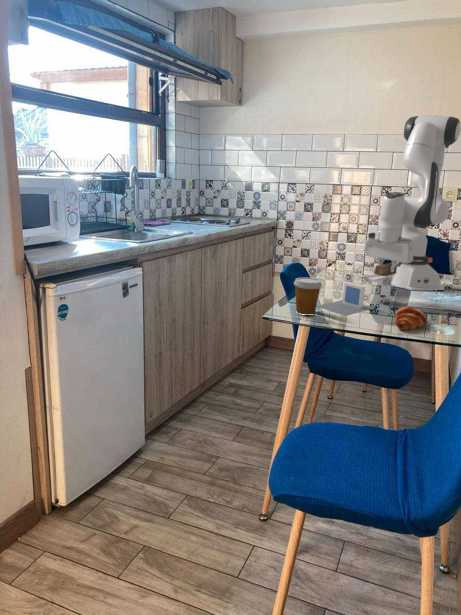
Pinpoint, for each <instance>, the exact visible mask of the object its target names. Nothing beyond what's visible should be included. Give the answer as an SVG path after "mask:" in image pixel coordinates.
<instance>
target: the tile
mask: <svg viewBox="0 0 461 615" xmlns="http://www.w3.org/2000/svg"><path fill="white" fill-rule="evenodd" d="M365 290H366V286H365V285H362V284H356V283H353V282H348V281H345V282H344V286H343V294H342V300H343V302H342V303H343V304H346V305H350V306H354V307H357V308H363V305H364V300H365V299H364V298H365V292H366V291H365Z"/></svg>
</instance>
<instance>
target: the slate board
mask: <svg viewBox="0 0 461 615" xmlns="http://www.w3.org/2000/svg"><path fill="white" fill-rule="evenodd" d="M342 302H343V299H342V300H338V301H332V302H328V303H323V304H317V305H316V308H318V309H322V310H326V311H329V312H331V313H336V314H338V315H342V316H345V317H346V316H351V315H354V314H359V313H362V312H366V311H370V310H374V309H376V307H373V306H369V305H367V304H363V308H357V307H354V306H350V305H346V304H343V303H342Z"/></svg>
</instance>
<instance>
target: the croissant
mask: <svg viewBox="0 0 461 615" xmlns="http://www.w3.org/2000/svg"><path fill="white" fill-rule="evenodd" d="M394 320H395V321H394V323H395V324H396V327H397V328H398V329H400V330H405V331H413V330H418V329H420V328H421V327H422V326H425V325H426V324H427V322H428V318H427V316H426V315H425V313H424V312H423V311H421V310H420V309H418V308H416V307H413V306H403V307H400V308H398V310H396V312H395V315H394Z"/></svg>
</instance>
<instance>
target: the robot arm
mask: <svg viewBox="0 0 461 615" xmlns="http://www.w3.org/2000/svg"><path fill="white" fill-rule="evenodd" d="M460 135H461V121H460V120H459V118H458V117H455V116H444V115H443V116H442V115H425V116H424V115H422V116H419V115H416V116H415V115H414V116H411V117H409V118H408V119H407V120H406V121H405V124H404V127H403V138H404V139H405V140H406V143H405V148H404V151H403V157H402V162H403V164H404V166H405V168H407V170H408V171H409V172H412V176H411V182H412V184H413V186H414V187H415V188H417V189H418V190H419V191H420V196H407V195H405V194H404V193H403V192H398V191H397V192H396V191H393V192H388V193H386V194H384V195H383V198H382V202H381V205H380V212H379V213H380V215H379V219H380V222H379V225H378V229H377V230H374V231H369V232H367V233H366V238H367V239H366V240H365V242H364V247H363V254H364V255H365V257H371V258H376V262H377V266H378V265H382V264H384V263H383V261H384V260H387V261H391V263H392V266H391V267H389V270H388V271H389V272H394V267H395V266H396V265H397V271H396V274H393V275H394V276H393V278H392V280H391V283H390V284H391V285H392V286H393V287H396V288H397V287H398V288H401V289H405V290H409V291H431V292H432V291H433V290H435V291H436V292H438V291H437V290H444V291H445V286H444V285H443V284H441V277H440V274H439V273H438V272H437V271H436V270H435V269H434V268H433V267H432V266H431V265H430V264H429V263H433V258H432V257H429V256H428V255H426V253H427V252H426V251H427V246H428V237H427V236H426V234H425V233H423V232H422V230H421V231H420V229H425V230H426V229H427V228H429V227H431V226H432V225H441V224H443V223H444V222H445V221H446V220H447V219H448V216H449V214H450V207H449V205H448V203H447V201H446V200H445V199H444V198H443V197H442V194H441V191H440V180H441V175H442V170H443V165H444V160H445V153H446V152H445V151H446V150H445V149H448V148H449V147H450V146H451V145H453V144H454V143H456V142H457V141H458V139H459V137H460ZM435 291H434V292H435Z"/></svg>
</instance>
